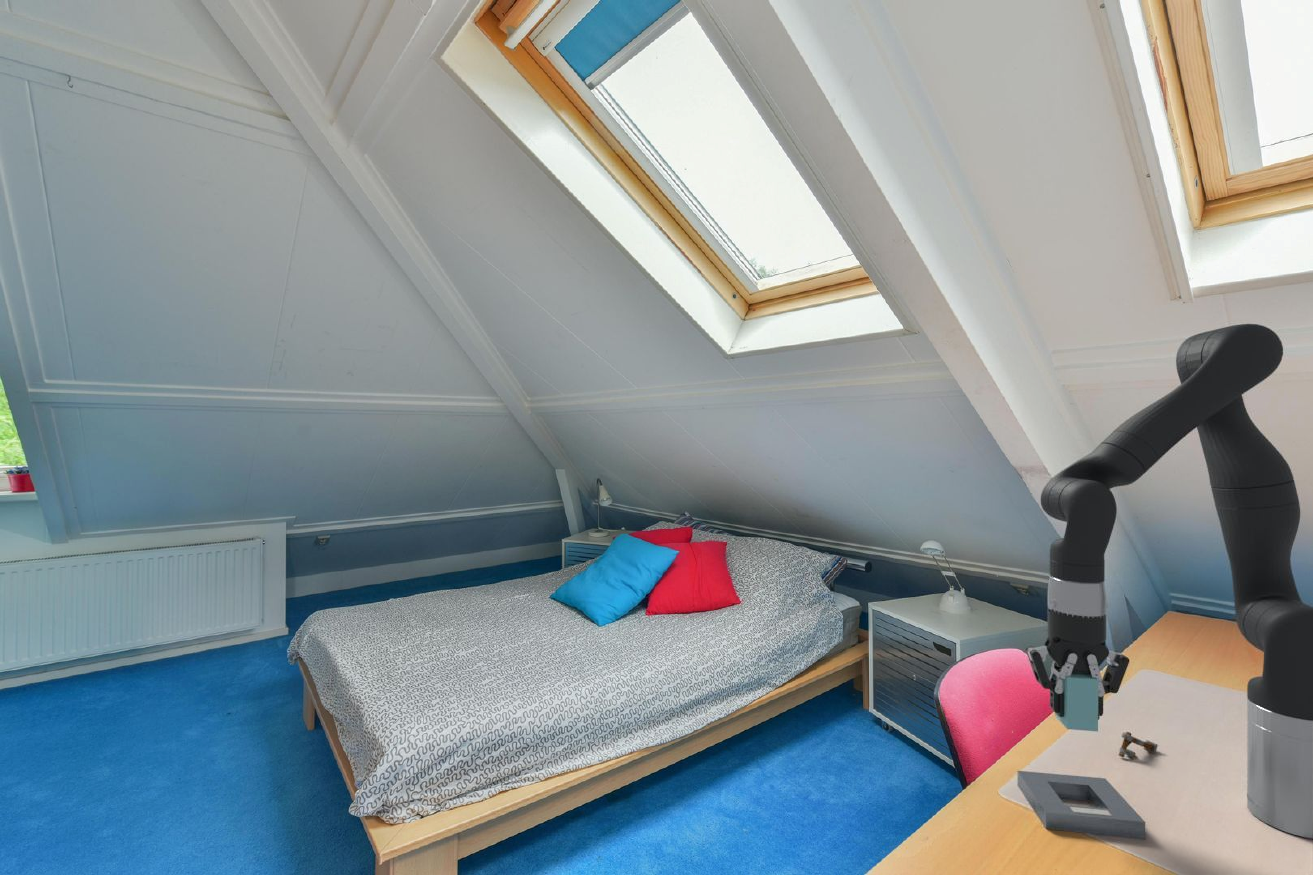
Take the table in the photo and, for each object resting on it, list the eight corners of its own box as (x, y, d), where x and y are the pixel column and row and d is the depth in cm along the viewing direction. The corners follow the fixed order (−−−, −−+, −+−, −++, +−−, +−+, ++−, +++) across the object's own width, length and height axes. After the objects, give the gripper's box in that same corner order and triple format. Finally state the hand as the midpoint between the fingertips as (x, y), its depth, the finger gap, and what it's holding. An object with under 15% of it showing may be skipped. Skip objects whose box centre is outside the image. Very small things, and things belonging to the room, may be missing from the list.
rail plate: (1105, 793, 98) (1105, 777, 98) (1145, 838, 87) (1145, 821, 87) (1017, 785, 101) (1017, 769, 101) (1045, 828, 90) (1045, 811, 90)
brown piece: (1111, 752, 109) (1119, 727, 109) (1140, 762, 111) (1147, 738, 112) (1122, 757, 107) (1129, 732, 108) (1151, 767, 109) (1158, 743, 110)
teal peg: (1084, 718, 96) (1084, 668, 95) (1098, 731, 92) (1098, 679, 91) (1054, 715, 97) (1055, 666, 96) (1067, 728, 92) (1067, 677, 92)
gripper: (1115, 601, 96) (1114, 708, 96) (1016, 597, 99) (1016, 701, 99) (1143, 616, 88) (1142, 732, 89) (1035, 611, 91) (1035, 723, 92)
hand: (1075, 715), depth 94 cm, fingers closed on teal peg, 4 cm apart
